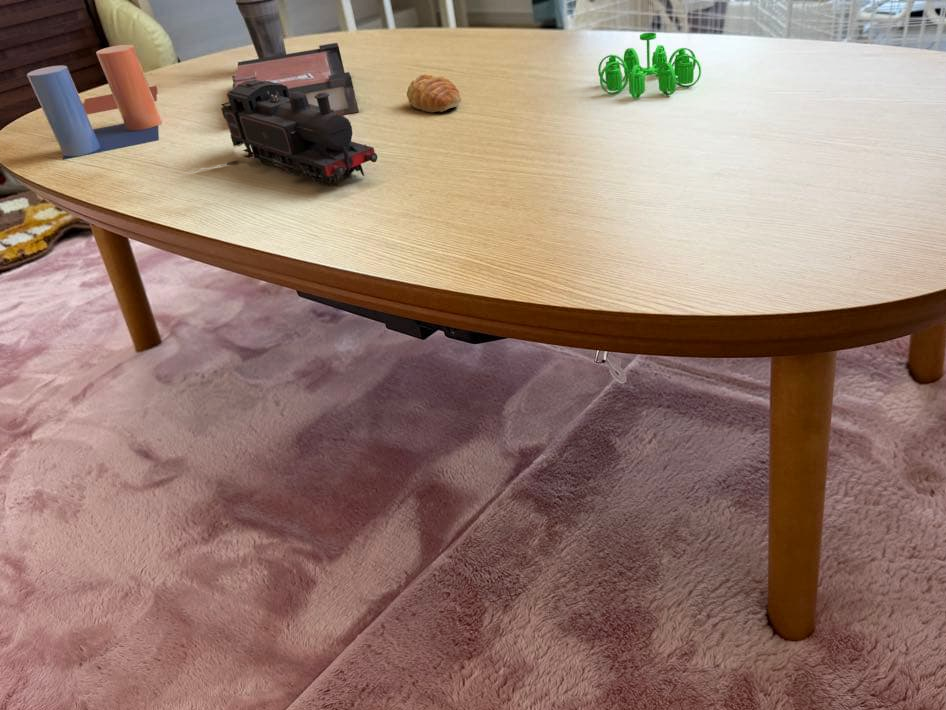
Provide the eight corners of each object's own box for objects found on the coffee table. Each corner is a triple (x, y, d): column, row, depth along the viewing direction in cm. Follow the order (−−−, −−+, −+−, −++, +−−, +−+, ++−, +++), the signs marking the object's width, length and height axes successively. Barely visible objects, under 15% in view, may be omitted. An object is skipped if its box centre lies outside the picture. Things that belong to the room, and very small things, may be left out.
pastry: (474, 106, 116) (469, 79, 113) (432, 118, 113) (427, 90, 111) (443, 95, 122) (438, 68, 120) (403, 106, 120) (398, 79, 117)
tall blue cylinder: (62, 159, 112) (24, 77, 106) (64, 150, 116) (28, 70, 110) (99, 152, 114) (65, 70, 107) (101, 142, 117) (68, 63, 111)
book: (242, 90, 137) (232, 59, 134) (344, 73, 140) (337, 42, 137) (239, 133, 116) (227, 98, 113) (359, 112, 119) (351, 76, 116)
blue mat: (64, 164, 113) (62, 159, 112) (70, 137, 123) (69, 134, 123) (160, 144, 116) (158, 139, 116) (159, 120, 127) (157, 116, 126)
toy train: (335, 198, 91) (312, 108, 85) (231, 160, 106) (205, 82, 100) (389, 176, 95) (371, 89, 90) (282, 143, 111) (260, 66, 105)
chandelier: (669, 66, 123) (669, 17, 119) (722, 87, 111) (724, 33, 107) (579, 85, 119) (576, 35, 115) (625, 109, 108) (623, 54, 104)
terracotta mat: (82, 119, 132) (80, 115, 132) (86, 102, 141) (84, 99, 141) (158, 104, 135) (156, 100, 135) (157, 89, 144) (156, 85, 144)
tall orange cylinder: (126, 133, 120) (95, 55, 114) (126, 124, 124) (96, 49, 118) (162, 126, 121) (133, 48, 115) (161, 117, 125) (133, 42, 119)
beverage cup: (249, 71, 149) (212, -52, 137) (284, 61, 152) (252, -59, 141) (266, 76, 144) (230, -51, 132) (302, 66, 148) (270, -58, 136)
